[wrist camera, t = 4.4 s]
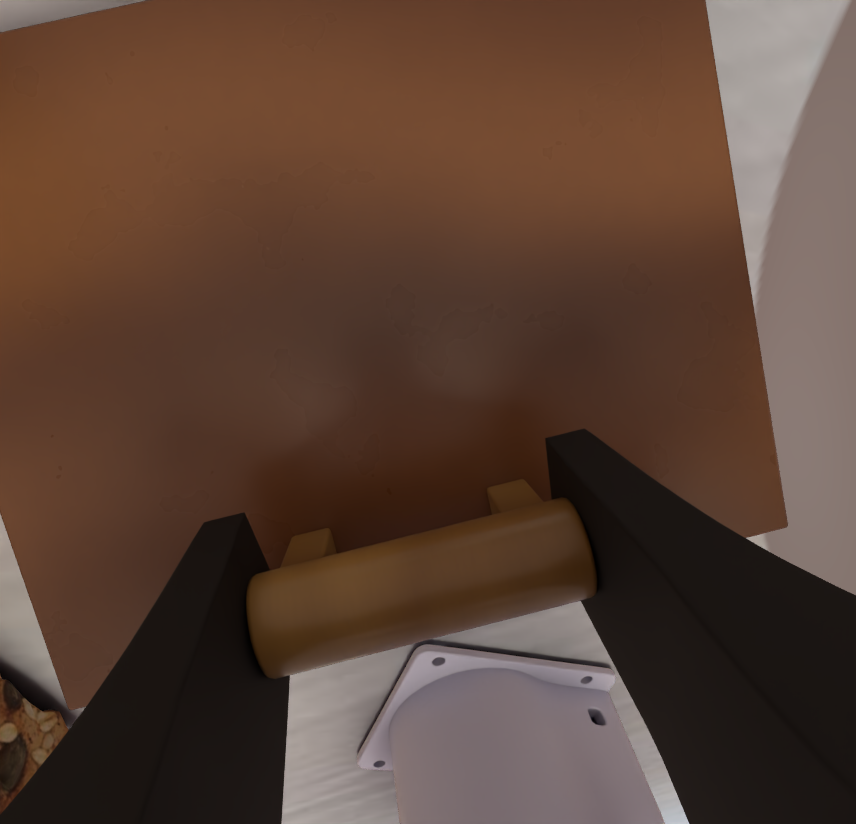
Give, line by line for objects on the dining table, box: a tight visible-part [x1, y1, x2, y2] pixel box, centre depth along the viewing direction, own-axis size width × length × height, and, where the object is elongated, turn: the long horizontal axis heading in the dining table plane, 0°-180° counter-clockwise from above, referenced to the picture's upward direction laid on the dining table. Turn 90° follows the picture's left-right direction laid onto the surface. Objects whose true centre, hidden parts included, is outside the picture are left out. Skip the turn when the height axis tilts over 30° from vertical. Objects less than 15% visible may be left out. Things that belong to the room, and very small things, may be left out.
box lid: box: [0, 0, 788, 710], centre depth 10 cm, size 11×13×4 cm
